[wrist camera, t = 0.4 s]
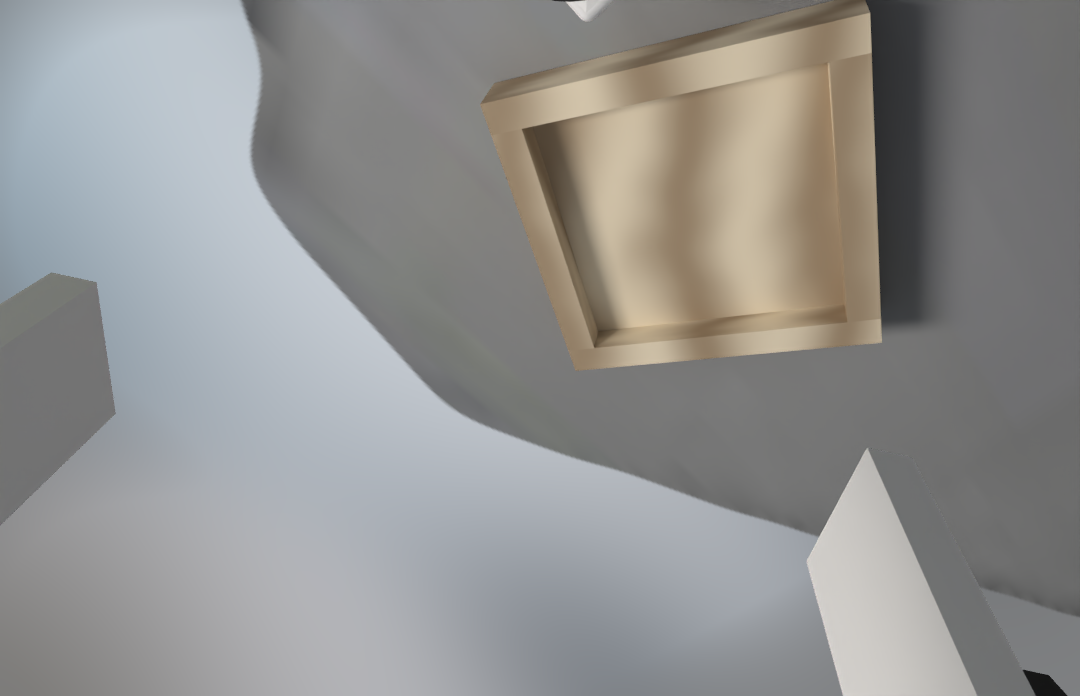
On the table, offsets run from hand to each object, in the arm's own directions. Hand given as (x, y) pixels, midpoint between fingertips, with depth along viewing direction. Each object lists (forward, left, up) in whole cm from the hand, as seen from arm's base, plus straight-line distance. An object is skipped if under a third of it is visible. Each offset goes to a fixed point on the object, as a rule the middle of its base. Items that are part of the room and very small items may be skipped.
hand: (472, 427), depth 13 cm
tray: (-1, +10, -25) cm, 27 cm away
